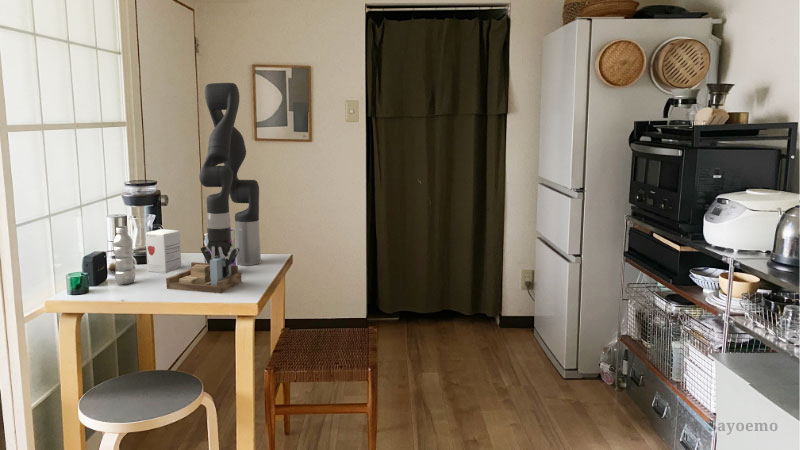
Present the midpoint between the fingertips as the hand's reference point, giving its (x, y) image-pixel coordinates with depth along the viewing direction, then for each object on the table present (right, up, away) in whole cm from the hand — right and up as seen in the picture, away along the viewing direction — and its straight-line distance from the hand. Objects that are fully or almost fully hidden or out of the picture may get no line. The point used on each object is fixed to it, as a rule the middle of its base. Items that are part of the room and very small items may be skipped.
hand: (221, 276), depth 217 cm
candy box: (-6, -1, +22) cm, 23 cm away
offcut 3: (-8, -3, +5) cm, 10 cm away
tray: (-6, -4, +2) cm, 8 cm away
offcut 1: (-11, -4, 0) cm, 11 cm away
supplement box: (-29, 0, +28) cm, 40 cm away
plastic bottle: (-36, -3, +8) cm, 37 cm away
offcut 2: (-8, 0, +5) cm, 10 cm away
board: (0, -4, +1) cm, 4 cm away
